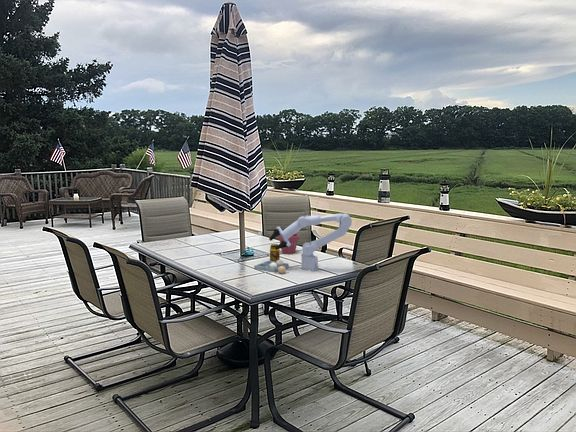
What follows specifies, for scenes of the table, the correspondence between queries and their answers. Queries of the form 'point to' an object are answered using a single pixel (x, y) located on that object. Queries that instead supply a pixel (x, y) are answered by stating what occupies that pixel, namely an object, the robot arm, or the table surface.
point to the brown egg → (281, 269)
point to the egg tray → (265, 266)
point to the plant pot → (292, 241)
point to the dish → (281, 274)
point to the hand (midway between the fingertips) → (272, 244)
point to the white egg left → (273, 265)
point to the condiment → (274, 253)
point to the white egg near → (279, 262)
